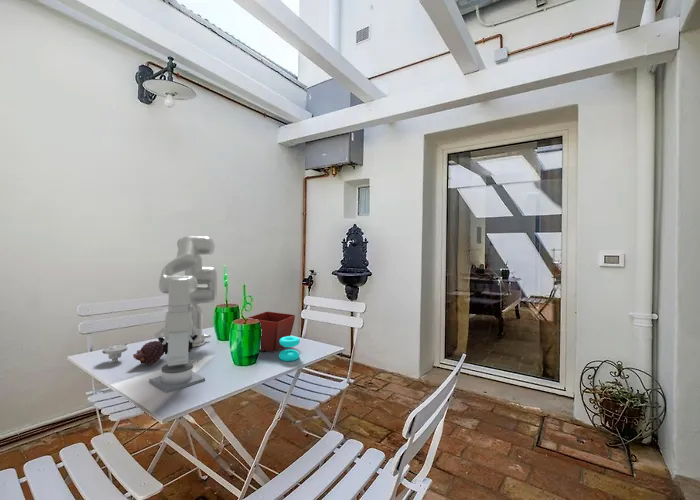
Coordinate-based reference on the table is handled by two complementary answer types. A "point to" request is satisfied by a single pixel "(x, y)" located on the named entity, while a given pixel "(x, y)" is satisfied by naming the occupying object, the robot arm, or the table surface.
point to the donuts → (289, 354)
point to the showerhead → (114, 351)
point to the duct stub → (176, 377)
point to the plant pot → (274, 329)
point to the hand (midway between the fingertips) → (178, 352)
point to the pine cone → (149, 352)
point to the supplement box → (178, 348)
